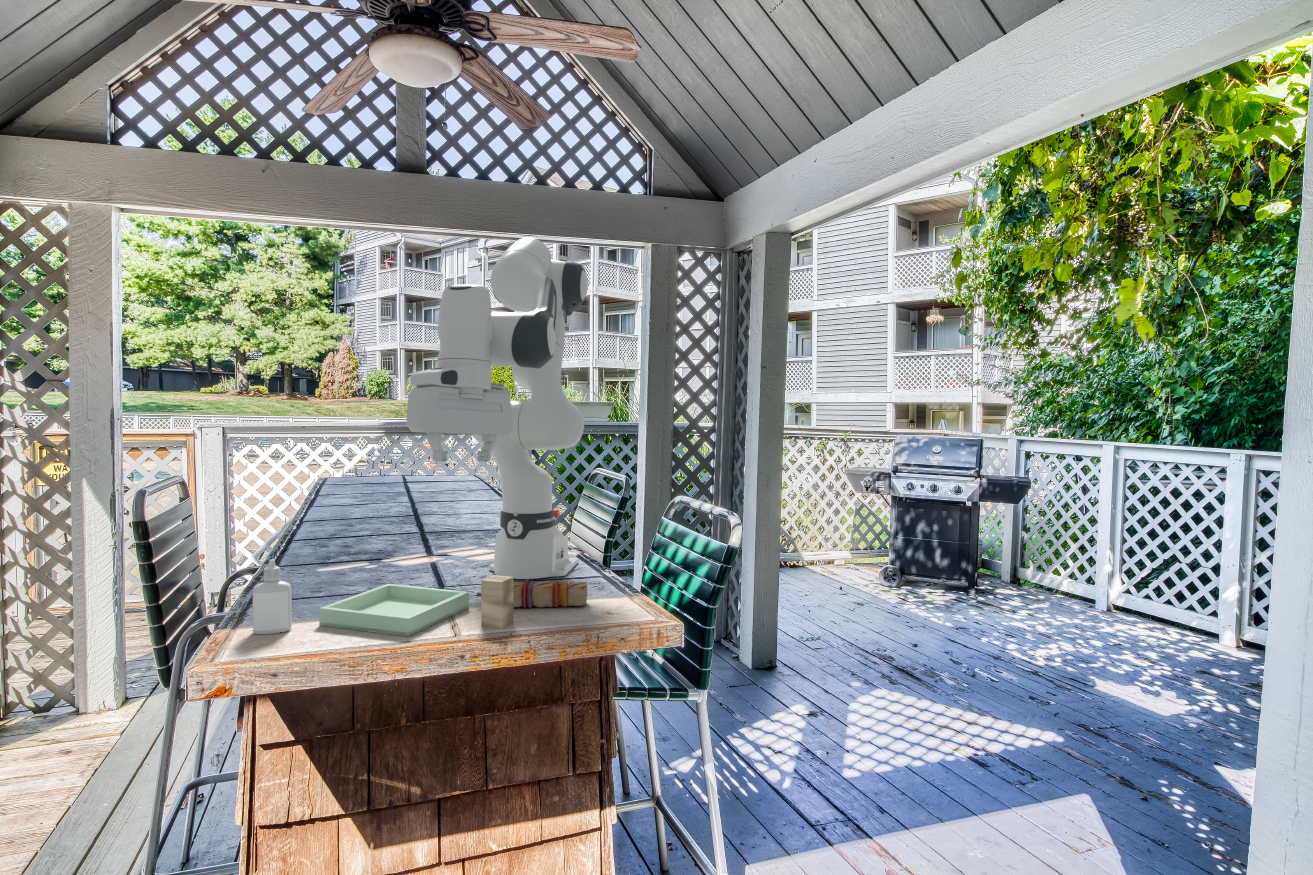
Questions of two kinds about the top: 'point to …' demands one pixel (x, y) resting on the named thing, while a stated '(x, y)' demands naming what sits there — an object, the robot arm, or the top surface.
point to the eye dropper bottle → (272, 603)
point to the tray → (394, 609)
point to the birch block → (496, 601)
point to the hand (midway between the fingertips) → (462, 461)
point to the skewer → (548, 594)
